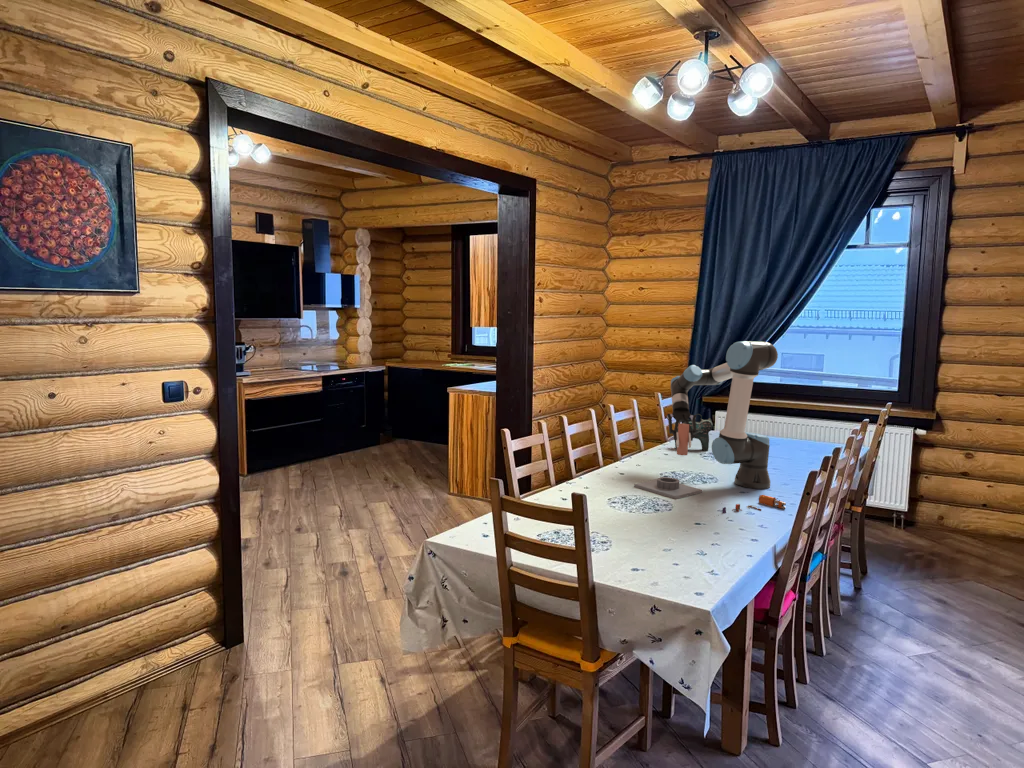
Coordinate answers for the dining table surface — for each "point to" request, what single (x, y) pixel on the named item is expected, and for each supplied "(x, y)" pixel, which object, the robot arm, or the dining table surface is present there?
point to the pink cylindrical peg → (683, 439)
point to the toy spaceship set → (763, 500)
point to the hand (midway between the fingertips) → (684, 445)
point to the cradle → (668, 487)
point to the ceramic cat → (701, 432)
